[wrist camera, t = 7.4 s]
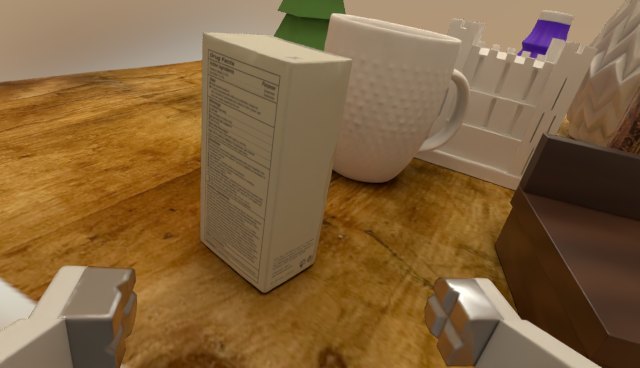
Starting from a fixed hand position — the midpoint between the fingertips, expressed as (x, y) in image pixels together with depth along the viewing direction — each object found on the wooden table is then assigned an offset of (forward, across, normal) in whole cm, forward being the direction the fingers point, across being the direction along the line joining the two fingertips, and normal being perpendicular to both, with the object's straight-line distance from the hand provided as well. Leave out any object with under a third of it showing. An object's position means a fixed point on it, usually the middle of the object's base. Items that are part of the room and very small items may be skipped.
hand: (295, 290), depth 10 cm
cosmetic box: (+11, 0, -8) cm, 14 cm away
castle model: (+30, +27, -8) cm, 41 cm away
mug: (+25, +11, -8) cm, 28 cm away
